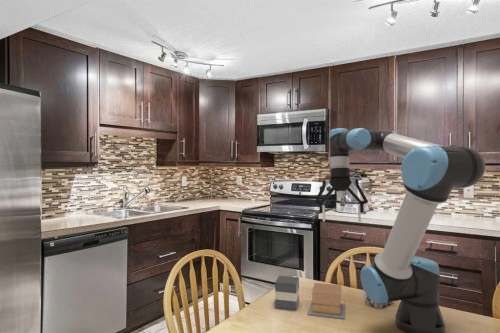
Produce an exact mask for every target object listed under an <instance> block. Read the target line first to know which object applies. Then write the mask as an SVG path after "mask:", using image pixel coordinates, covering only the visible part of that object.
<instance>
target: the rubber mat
mask: <svg viewBox="0 0 500 333" xmlns="http://www.w3.org/2000/svg"><path fill="white" fill-rule="evenodd" d="M345 314H346V303H344V302H343V303H342V302H341V312H340V316H339V315H331V314H322V313H313V312H312V299H311V300H310V303H309V307H308V310H307V316H313V317H321V318H329V319H337V320H345V319H346V318H345V317H346V315H345Z"/></svg>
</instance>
